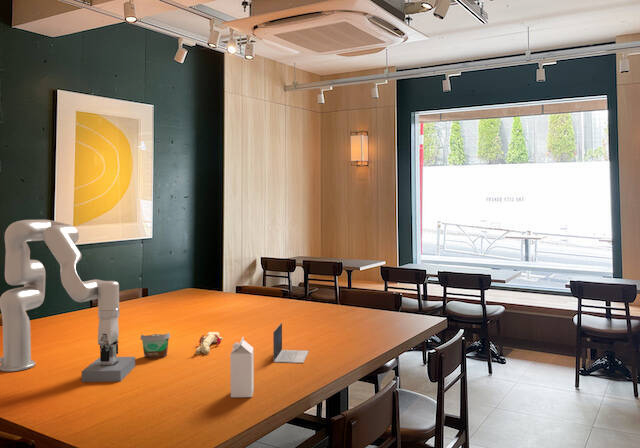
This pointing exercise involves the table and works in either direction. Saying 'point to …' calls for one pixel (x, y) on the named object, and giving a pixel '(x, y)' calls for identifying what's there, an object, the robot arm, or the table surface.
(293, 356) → the laptop
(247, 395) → the milk carton
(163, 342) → the food container
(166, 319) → the table surface
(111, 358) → the steel pin
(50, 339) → the table surface
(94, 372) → the block
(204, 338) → the beige piece
